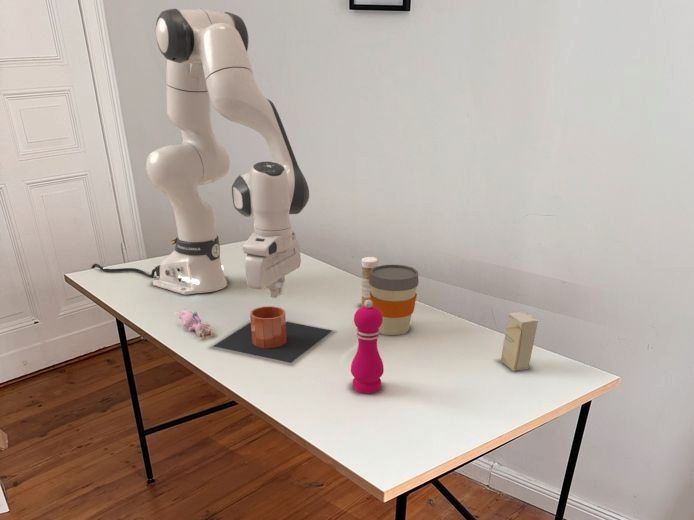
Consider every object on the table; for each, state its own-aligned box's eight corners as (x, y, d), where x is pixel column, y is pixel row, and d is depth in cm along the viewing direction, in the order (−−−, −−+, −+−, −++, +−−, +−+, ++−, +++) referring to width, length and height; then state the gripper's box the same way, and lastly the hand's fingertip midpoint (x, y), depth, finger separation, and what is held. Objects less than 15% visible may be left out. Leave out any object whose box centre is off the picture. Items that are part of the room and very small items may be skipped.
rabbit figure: (219, 340, 176) (190, 314, 184) (218, 319, 172) (189, 294, 180) (197, 346, 172) (168, 320, 180) (196, 325, 168) (167, 299, 176)
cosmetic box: (500, 361, 164) (506, 312, 157) (515, 358, 165) (523, 310, 159) (514, 372, 159) (521, 322, 152) (530, 369, 161) (538, 319, 154)
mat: (213, 347, 169) (212, 346, 168) (259, 317, 185) (259, 316, 185) (290, 364, 161) (290, 362, 161) (332, 331, 178) (332, 330, 178)
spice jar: (369, 302, 196) (370, 255, 188) (380, 307, 193) (381, 259, 185) (357, 306, 193) (358, 258, 186) (367, 310, 191) (368, 262, 183)
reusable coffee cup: (372, 339, 174) (373, 281, 166) (364, 320, 184) (365, 265, 176) (420, 336, 176) (424, 279, 167) (410, 318, 186) (413, 263, 178)
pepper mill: (385, 382, 154) (389, 295, 143) (379, 396, 148) (382, 307, 137) (354, 378, 155) (355, 292, 144) (347, 392, 150) (347, 304, 138)
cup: (263, 332, 176) (246, 344, 170) (261, 304, 172) (243, 315, 165) (292, 338, 173) (275, 350, 167) (291, 309, 169) (273, 321, 162)
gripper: (283, 226, 170) (286, 281, 178) (238, 247, 154) (243, 307, 162) (305, 229, 168) (307, 285, 175) (262, 251, 152) (266, 311, 160)
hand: (276, 296), depth 169 cm, fingers closed
